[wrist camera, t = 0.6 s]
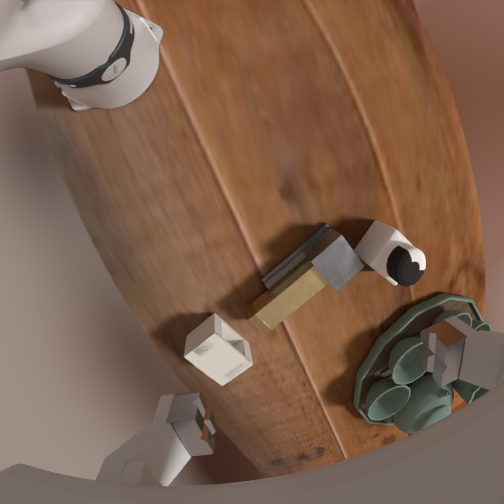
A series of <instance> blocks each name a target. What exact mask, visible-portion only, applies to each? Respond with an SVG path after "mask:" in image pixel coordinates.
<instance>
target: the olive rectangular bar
mask: <svg viewBox="0 0 504 504" xmlns="http://www.w3.org/2000/svg"><path fill="white" fill-rule="evenodd" d="M327 284H328V282H327V281H326V279H325V278H324V277H323V276H322V274H321V273H320V272H319V271H318V270H317V268H316V267H315V266H314V265H313V264H312V262H311V261H310V260H309V259H308V258H307V257H306V258H305V259H304V260H303V261H302V262H300V263H299V264H298V265H297V266H296V267H295V268H293V269H292V270H291V271H290V272H289V273H287V274H286V275H285V276H284V277H283V278H281V279H280V280H279V281H278V282H277V283H276V284H274V285H273V286H272V287H271V288H269V289H268V290H267V291H266V292H265V293H263V294H262V295H261V296H260V297H259V298H257V299H256V300H255V301H254V302H252V303H251V304H250V305H248V306H247V312H248V317H249V320H250V321H251V322H252V323H254V324H255V325H256V326H257V327H258V328H259V329H260V330H261V331H262V332H263V333H264V334H267V333H268V332H270V331H271V330H272V329H273V328H274V327H275V326H277V325H278V324H279V323H280V322H282V321H283V320H284V319H285V318H287V317H288V316H289V315H290V314H292V313H293V312H294V311H295V310H297V309H298V308H299V307H300V306H302V305H303V304H304V303H305V302H306V301H308V300H309V299H310V298H311V297H312V296H314V295H315V294H316V293H317V292H318V291H320V290H321V289H322V288H323V287H324V286H326V285H327Z"/></svg>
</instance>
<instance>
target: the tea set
mask: <svg viewBox="0 0 504 504" xmlns="http://www.w3.org/2000/svg"><path fill="white" fill-rule="evenodd" d="M451 316H456V317H457V318H459V319H460V320H462V321H463V322H465V323H466V324H467V325H469V326H470V327H472V328H473V329H475V330H476V331H480V330H483V331H491V327H490V324H489V323H488V322H483V321H482V317H481V315H480V313H479V311H478V309H477V307H476V306H475V304H474V302H473V300H472V299H470V298H469V297H464V296H458V295H452V294H447V293H442V294H439V295H437V296H435V297H433V298H431V299H429V300H426V301H424V302H422V303H420V304H417V305H415V306H413V307H411V308H409V309H408V310H407V311H406V312H405V313H404V314H403V315H402V316H401V317H400V318H399V319H398V320H397V321H396V322H395V323H393V324H392V325H391V326H390V327H389V328H388V329H387V330H386V331H385V332H384V333H382V334H381V335H380V336H379V337H378V338H377V340H376V341H375V343H374V345H373V347H372V348H371V350H370V352H369V353H368V355H367V356H366V358H365V360H364V361H363V363H362V364H361V366H360V368H359V369H358V371H357V374H356V383H355V391H354V398H353V404H354V406H355V408H356V409H357V410H358V411H359V413H360V414H361V415H362V416H363V417H364V419H365V420H366V421H367V422H368V423H371V424H382V425H393V424H396V426H397V427H398V428H399V430H402V431H404V432H406V433H408V434H409V435H411V434H413V433H416V432H418V431H420V430H422V429H424V428H426V427H428V426H430V425H432V424H434V423H436V422H438V421H440V420H442V419H444V418H445V417H447V416H449V415H450V413H451V408H450V407H451V404H452V402H453V398H454V391H453V388H454V389H455V390H456V391H457V393H458V394H459V395H460V396H461V397H462V398H463V399H464V401H465V402H466V403H467V404H470V403H471V402H473V401H475V400H476V399H478V398H479V397H481V396H482V395H484V394H485V393H487V392H488V391H490V390H488V389H485V388H482V387H480V386H477V385H474V384H471V383H468V382H466V381H463V380H460V379H459V378H458V379H456V380H454V381H452V382H450V383H448V384H446V385H444V386H442V387H441V386H440V385H439V384H438V383H437V382H436V381H435V380H434V378H433V373H432V372H428V371H426V370H425V368H424V367H423V365H422V364H421V360H420V348H421V346H422V344H423V342H422V341H421V340H420V334H421V331H422V330H423V329H425V328H428V327H430V326H432V325H435V324H437V323H439V322H441V321H442V320H444V319H446V318H448V317H451Z"/></svg>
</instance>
